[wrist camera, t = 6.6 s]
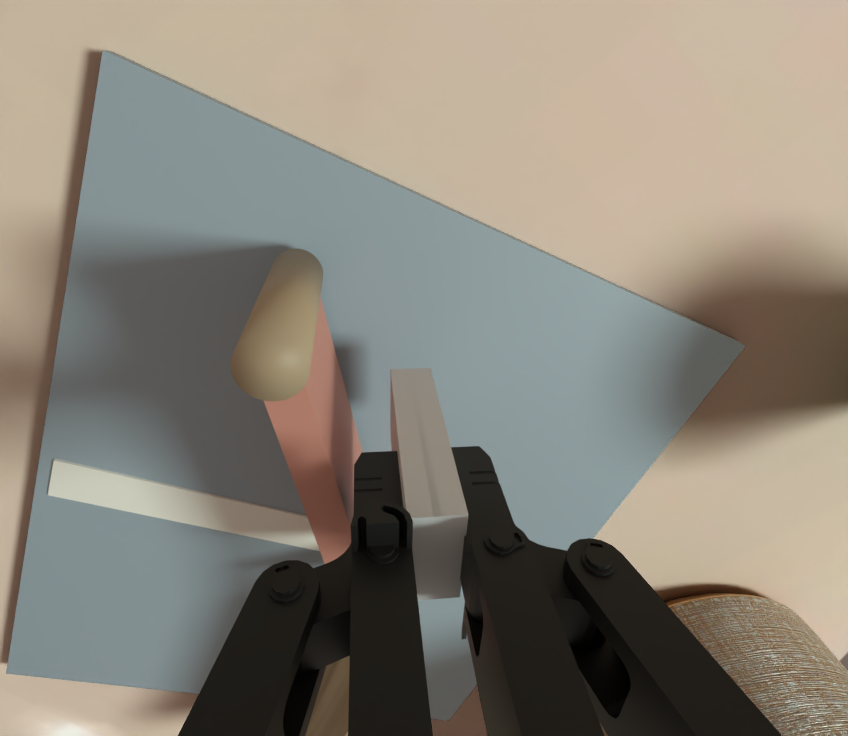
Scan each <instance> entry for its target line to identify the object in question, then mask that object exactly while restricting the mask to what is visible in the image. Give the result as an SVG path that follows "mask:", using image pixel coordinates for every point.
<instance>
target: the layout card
mask: <svg viewBox="0 0 848 736" xmlns="http://www.w3.org/2000/svg"><path fill="white" fill-rule="evenodd" d="M289 249H303V250H306V251H308V252H310V253H312V254H313V255H314V256H315V257H316V258H317V259H318V260H319V262H320V264H321V266H322V269H323V281H322V288H321V296H320V297H321V301H322V304H323V308H324V312H325V315H326V319H327V323H328V326H329V330H330V334H331V337H332V341H333V345H334V348H335V352H336V356H337V359H338V363H339V367H340V370H341V374H342V378H343V381H344V385H345V389H346V392H347V396H348V400H349V403H350V407H351V411H352V414H353V418H354V422H355V425H356V429H357V433H358V436H359V440H360V444H361V447H362V451H363V452H383V451H392V450H391V439H390V369H413V368H431V372H432V376H433V380H434V383H435V387H436V391H437V395H438V399H439V403H440V407H441V410H442V414H443V418H444V422H445V426H446V430H447V434H448V437H449V441H450V445H451V447H468V446H480V447H481V448H482V449H483V450H484V451H485V452H486V453H487V454H488V455H489V456H490V458H491V460H492V463H493V466H494V469H495V473H496V474H497V477H498V480H499V484H500V485H501V488H502V491H503V494H504V496H505V499H506V502H507V505H508V508H509V510H510V513H511V516H512V519H513V522H514V524H515V525H516V526H517V527H518V528H519V529H521V530H522V531H523V532H524V533H525V535H526V536H527V538H528V539H529V540H531V541H533V542H535V543H537V544H540V545H543V546H546V547H551V548H556V549H561V550H566V551H567V550H568V548H569V547H570V545H571V544H572V543H574V542H575V541H577V540H579V539H587V538H591V539H593V538H594V537H595V535H596V534H597V533H598V532H599V530H600V529H601V528H602V527H603V525H604V524H605V523H606V522H607V520H608V519H609V518H610V517H611V515H612V514H613V513H614V512H615V510H616V509H617V508H618V506H619V505H620V504H621V503H622V501H623V500H624V499H625V498H626V496H627V495H628V494H629V493H630V491H631V490H632V489H633V488H634V486H635V485H636V484H637V483H638V481H639V480H640V479H641V477H642V476H643V475H644V474H645V472H646V471H647V470H648V469H649V467H650V466H651V465H652V464H653V462H654V461H655V460H656V459H657V457H658V456H659V455H660V454H661V452H662V451H663V450H664V449H665V447H666V446H667V445H668V443H669V442H670V441H671V440H672V438H673V437H674V436H675V435H676V433H677V432H678V431H679V430H680V428H681V427H682V426H683V425H684V423H685V422H686V421H687V420H688V418H689V417H690V416H691V414H692V413H693V412H694V411H695V409H696V408H697V407H698V406H699V404H700V403H701V402H702V401H703V399H704V398H705V397H706V396H707V394H708V393H709V392H710V391H711V389H712V388H713V387H714V386H715V384H716V383H717V382H718V380H719V379H720V378H721V377H722V375H723V374H724V373H725V372H726V370H727V369H728V368H729V367H730V365H731V364H732V363H733V362H734V360H735V359H736V358H737V357H738V355H739V354H740V353H741V351H742V350H743V349H744V348H745V345H743V344H742V343H740V342H739V341H737V340H735V339H733V338H731V337H729V336H727V335H724V334H722V333H720V332H718V331H716V330H714V329H711V328H709V327H707V326H705V325H703V324H701V323H698V322H696V321H694V320H692V319H690V318H688V317H685V316H683V315H681V314H679V313H677V312H675V311H672V310H670V309H668V308H666V307H664V306H662V305H659V304H657V303H655V302H653V301H651V300H649V299H646V298H644V297H642V296H640V295H638V294H636V293H633V292H631V291H629V290H627V289H625V288H623V287H620V286H618V285H616V284H614V283H612V282H610V281H607V280H605V279H603V278H601V277H599V276H597V275H594V274H592V273H590V272H588V271H586V270H584V269H581V268H579V267H577V266H575V265H573V264H571V263H568V262H566V261H564V260H562V259H560V258H558V257H555V256H553V255H551V254H549V253H547V252H545V251H543V250H540V249H538V248H536V247H534V246H532V245H530V244H527V243H525V242H523V241H521V240H519V239H517V238H514V237H512V236H510V235H508V234H506V233H504V232H501V231H499V230H497V229H495V228H493V227H491V226H488V225H486V224H484V223H482V222H480V221H478V220H475V219H473V218H471V217H469V216H467V215H465V214H462V213H460V212H458V211H456V210H454V209H452V208H449V207H447V206H445V205H443V204H441V203H439V202H436V201H434V200H432V199H430V198H428V197H426V196H423V195H421V194H419V193H417V192H415V191H413V190H410V189H408V188H406V187H404V186H402V185H400V184H397V183H395V182H393V181H391V180H389V179H387V178H384V177H382V176H380V175H378V174H376V173H374V172H371V171H369V170H367V169H365V168H363V167H361V166H358V165H356V164H354V163H352V162H350V161H348V160H345V159H343V158H341V157H339V156H337V155H335V154H332V153H330V152H328V151H326V150H324V149H322V148H319V147H317V146H315V145H313V144H311V143H309V142H306V141H304V140H302V139H300V138H298V137H296V136H293V135H291V134H289V133H287V132H285V131H283V130H280V129H278V128H276V127H274V126H272V125H270V124H268V123H265V122H263V121H261V120H259V119H257V118H255V117H252V116H250V115H248V114H246V113H244V112H242V111H239V110H237V109H235V108H233V107H231V106H229V105H226V104H224V103H222V102H220V101H218V100H216V99H213V98H211V97H209V96H207V95H205V94H203V93H200V92H198V91H196V90H194V89H192V88H190V87H187V86H185V85H183V84H181V83H179V82H177V81H174V80H172V79H170V78H168V77H166V76H164V75H161V74H159V73H157V72H155V71H153V70H151V69H148V68H146V67H144V66H142V65H140V64H138V63H135V62H133V61H131V60H129V59H127V58H125V57H122V56H120V55H118V54H116V53H114V52H111V51H105V50H103V51H102V57H101V63H100V70H99V76H98V83H97V89H96V96H95V102H94V109H93V115H92V122H91V128H90V135H89V141H88V147H87V154H86V160H85V167H84V173H83V180H82V186H81V193H80V199H79V206H78V212H77V219H76V225H75V232H74V238H73V244H72V251H71V257H70V264H69V270H68V277H67V283H66V290H65V296H64V303H63V309H62V316H61V322H60V329H59V335H58V341H57V348H56V354H55V361H54V367H53V374H52V380H51V387H50V393H49V400H48V406H47V413H46V419H45V425H44V432H43V438H42V445H41V451H40V458H39V464H38V471H37V477H36V484H35V490H34V497H33V503H32V510H31V516H30V522H29V529H28V535H27V542H26V548H25V555H24V561H23V568H22V574H21V581H20V587H19V594H18V600H17V606H16V613H15V619H14V626H13V632H12V639H11V645H10V652H9V658H8V665H7V671H6V674H15V675H25V676H34V677H43V678H53V679H62V680H72V681H81V682H90V683H100V684H109V685H118V686H128V687H137V688H146V689H156V690H165V691H174V692H184V693H193V694H199V693H200V691H201V689H202V687H203V685H204V683H205V681H206V679H207V677H208V675H209V673H210V671H211V669H212V667H213V665H214V663H215V661H216V659H217V657H218V655H219V653H220V651H221V649H222V647H223V645H224V643H225V641H226V639H227V637H228V635H229V633H230V631H231V629H232V627H233V625H234V623H235V621H236V619H237V617H238V615H239V613H240V611H241V609H242V607H243V605H244V603H245V601H246V599H247V597H248V595H249V593H250V591H251V589H252V587H253V585H254V583H255V582H256V580H257V579H258V578H259V576H260V575H261V574H262V572H263V571H265V570H266V569H268V568H269V567H271V566H272V565H274V564H277V563H279V562H282V561H285V560H299V561H302V562H305V563H308V564H309V565H310V566H312V567H313V568H315V567H318V566H321V565H324V564H325V563H324V560H323V558H322V555H321V552H320V550H319V547H318V544H317V542H316V539H315V536H314V534H313V531H312V528H311V526H310V523H309V520H308V518H307V515H306V512H305V510H304V507H303V504H302V502H301V499H300V496H299V494H298V491H297V488H296V486H295V483H294V480H293V478H292V475H291V472H290V470H289V467H288V464H287V462H286V459H285V456H284V454H283V451H282V448H281V446H280V443H279V440H278V438H277V435H276V432H275V430H274V427H273V424H272V422H271V419H270V416H269V414H268V411H267V408H266V406H265V403H264V400H260V399H256V398H254V397H252V396H250V395H248V394H247V393H245V392H244V391H243V390H242V389H241V388H240V387H239V386H238V385H237V384H236V382H235V381H234V379H233V377H232V374H231V369H230V362H231V357H232V354H233V352H234V350H235V348H236V345H237V343H238V341H239V339H240V336H241V334H242V332H243V330H244V328H245V325H246V323H247V321H248V319H249V316H250V314H251V312H252V310H253V307H254V305H255V303H256V301H257V298H258V296H259V294H260V292H261V289H262V287H263V285H264V283H265V280H266V278H267V276H268V274H269V271H270V269H271V267H272V265H273V262H274V261H275V259H276V257H277V256H278V255H279V254H280V253H282V252H284V251H286V250H289ZM464 604H465V600H464V595H463V590H462V585H461V592H460V597H456V598H444V599H432V600H419V601H418V606H419V615H420V625H421V634H422V643H423V652H424V661H425V670H426V679H427V688H428V697H429V706H430V715H431V719H436V720H446V721H449V719H450V718H451V717H452V716H453V714H454V713H455V712H456V711H457V709H458V708H459V707H460V706H461V704H462V703H463V702H464V700H465V699H466V698H467V697H468V695H469V694H470V693H471V692H472V690H473V689H474V688H475V687H476V685H477V681H476V676H475V671H474V666H473V662H472V657H471V652H470V647H469V642H468V637H467V636H466V639H461V638H462V622H463V613H464Z"/></svg>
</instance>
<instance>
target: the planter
mask: <svg viewBox="0 0 848 736" xmlns="http://www.w3.org/2000/svg"><path fill="white" fill-rule="evenodd" d="M665 603H666V604H667V606H668V607H669V608H670V609H671V610H672V611H673V612H674V613H675V615H676V616H677V617H678V618H679V619H680V620H681V621H682V623H683V624H684V625H685V626H686V627H687V628H688V629H689V631H690V632H691V633H692V634H693V635H694V636H695V637H696V638H697V640H698V641H699V642H700V643H701V644H702V645H703V646H704V648H705V649H706V650H707V651H708V652H709V653H710V654H711V655H712V657H713V658H714V659H715V660H716V661H717V662H718V663H719V665H720V666H721V667H722V668H723V669H724V670H725V671H726V672H727V674H728V675H729V676H730V677H731V678H732V679H733V680H734V682H735V683H736V684H737V685H738V686H739V687H740V688H741V689H742V691H743V692H744V693H745V694H746V695H747V696H748V697H749V699H750V700H751V701H752V702H753V703H754V704H755V705H756V707H757V708H758V709H759V710H760V711H761V712H762V713H763V714H764V716H765V717H766V718H767V719H768V720H769V721H770V722H771V724H772V725H773V726H774V727H775V728H776V729H777V730H778V731H779V733H780V734H781V735H782V736H848V671H847V670H846V669H845V667H844V666H843V665H842V664H841V663H840V661H839V660H838V659H837V658H836V657H835V656H834V654H833V653H832V652H831V651H830V650H829V648H828V647H827V646H826V645H825V644H824V643H823V641H822V640H821V639H820V638H819V637H818V636H817V635H816V633H815V632H814V631H813V630H812V629H811V628H810V627H809V626H808V625H807V624H806V623H805V622H804V621H803V620H802V619H801V618H800V617H799V616H798V615H797V614H796V613H795V612H794V611H792V610H791V609H790V608H788V607H786V606H785V605H783V604H781V603H778V602H776V601H773V600H771V599H767V598H764V597H759V596H753V595H745V594H732V593H712V594H703V595H696V596H690V597H684V598H679V599H674V600H670V601H667V602H665ZM600 725H601V724H600ZM601 727H602V725H601ZM602 730H603V733H604V735H605V736H608V735H607V733H606V732H605V730H604V728H603V727H602Z"/></svg>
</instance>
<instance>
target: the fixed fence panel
mask: <svg viewBox="0 0 848 736" xmlns="http://www.w3.org/2000/svg"><path fill="white" fill-rule="evenodd" d="M349 666H350V656H348V657H345V658H343V659H341V660H339V661H336V662H334V663H332V664H330V665H327V666H326V669H325V672H324V676H323V679H322V682H321V686H320V689H319V692H318V695H317V699H316V702H315V705H314V709H313V712H312V715H311V719H310V722H309V725H308V728H307V732H306V735H305V736H348V713H349Z"/></svg>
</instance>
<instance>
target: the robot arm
mask: <svg viewBox="0 0 848 736" xmlns="http://www.w3.org/2000/svg"><path fill="white" fill-rule="evenodd" d="M390 439H391V450H392V451H383V452H362V453H361V454H360V456H359V458H358V459H357V461H356V463H355V464H354V513H353V518H352V522H351V525H350V526H351V544H350V546H349V548H348V549H347V550H346V551H345V552H344V553H343V554H342V555H341V556H339V557H338V558H337V559H335V560H333V561H331V562H329V563H326V564H324V565H321V566H318V567H315V568H313V567H312V566H310V565H309V564H308V563H305V562H302V561H299V560H285V561H282V562H279V563H277V564H274V565H272V566H271V567H269V568H268V569H266V570H265V571H263V572H262V574H261V575H260V576H259V578H258V579H257V580H256V582H255V583H254V585H253V587H252V589H251V591H250V593H249V595H248V597H247V599H246V601H245V603H244V605H243V607H242V609H241V611H240V613H239V615H238V617H237V619H236V621H235V623H234V625H233V627H232V629H231V631H230V633H229V635H228V637H227V639H226V641H225V643H224V645H223V647H222V649H221V651H220V653H219V655H218V657H217V659H216V661H215V663H214V665H213V667H212V669H211V671H210V673H209V675H208V677H207V679H206V681H205V683H204V685H203V687H202V689H201V691H200V693H199V695H198V697H197V699H196V701H195V703H194V705H193V707H192V709H191V711H190V713H189V715H188V717H187V719H186V721H185V723H184V725H183V727H182V729H181V731H180V733H179V735H178V736H305V735H306V732H307V728H308V725H309V722H310V719H311V715H312V712H313V709H314V705H315V702H316V699H317V695H318V692H319V689H320V686H321V682H322V679H323V676H324V672H325V669H326V666H327V665H330V664H332V663H334V662H336V661H339V660H341V659H343V658H345V657H348V656H350V666H349V713H348V736H433V733H432V724H431V715H430V706H429V697H428V688H427V679H426V670H425V661H424V652H423V643H422V634H421V625H420V615H419V606H418V601H419V600H432V599H444V598H456V597H460V592H461V585H462V590H463V595H464V600H465V604H464V613H463V622H462V638H461V639H466V636H467V637H468V642H469V647H470V652H471V657H472V662H473V666H474V671H475V676H476V681H477V686H478V691H479V696H480V701H481V705H482V710H483V715H484V720H485V725H486V730H487V735H488V736H605V735H604V733H603V730H602V727H603V728H604V730H605V732H606V733H607V735H608V736H782V735H781V734H780V733H779V731H778V730H777V729H776V728H775V727H774V726H773V725H772V724H771V722H770V721H769V720H768V719H767V718H766V717H765V716H764V714H763V713H762V712H761V711H760V710H759V709H758V708H757V707H756V705H755V704H754V703H753V702H752V701H751V700H750V699H749V697H748V696H747V695H746V694H745V693H744V692H743V691H742V689H741V688H740V687H739V686H738V685H737V684H736V683H735V682H734V680H733V679H732V678H731V677H730V676H729V675H728V674H727V672H726V671H725V670H724V669H723V668H722V667H721V666H720V665H719V663H718V662H717V661H716V660H715V659H714V658H713V657H712V655H711V654H710V653H709V652H708V651H707V650H706V649H705V648H704V646H703V645H702V644H701V643H700V642H699V641H698V640H697V638H696V637H695V636H694V635H693V634H692V633H691V632H690V631H689V629H688V628H687V627H686V626H685V625H684V624H683V623H682V621H681V620H680V619H679V618H678V617H677V616H676V615H675V613H674V612H673V611H672V610H671V609H670V608H669V607H668V606H667V604H666V603H665V602H664V601H663V600H662V599H661V598H660V596H659V595H658V594H657V593H656V592H655V591H654V590H653V589H652V587H651V586H650V585H649V584H648V583H647V582H646V581H645V579H644V578H643V577H642V576H641V575H640V574H639V573H638V572H637V570H636V569H635V568H634V567H633V566H632V565H631V564H630V562H629V561H628V560H627V559H626V558H625V557H624V556H623V554H622V553H620V552H619V551H618V550H617V549H616V548H614V547H613V546H612V545H610V544H608V543H606V542H603V541H601V540H596V539H591V538H587V539H579V540H577V541H575V542H574V543H572V544H571V545H570V547H569V548H568V550H567V551H566V550H561V549H556V548H551V547H546V546H543V545H540V544H537V543H535V542H533V541H531V540H529V539H528V538H527V536H526V535H525V533H524V532H523V531H522V530H521V529H519V528H518V527H517V526H516V525H515V524H514V522H513V519H512V516H511V513H510V510H509V508H508V505H507V502H506V499H505V496H504V494H503V491H502V488H501V485H500V484H499V480H498V477H497V474H496V473H495V469H494V466H493V463H492V460H491V458H490V456H489V455H488V454H487V453H486V452H485V451H484V450H483V449H482V448H481V447H480V446H468V447H451V445H450V441H449V437H448V434H447V430H446V426H445V422H444V418H443V414H442V410H441V407H440V403H439V399H438V395H437V391H436V387H435V383H434V380H433V376H432V372H431V368H413V369H390ZM600 724H601V725H602V727H601V725H600Z"/></svg>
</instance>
